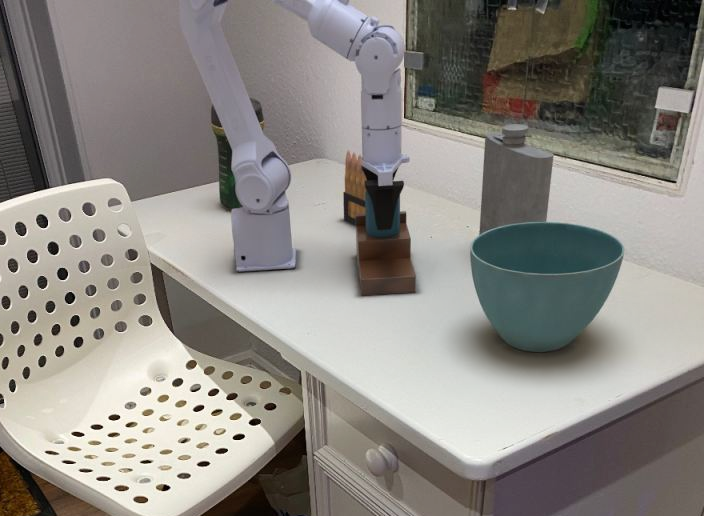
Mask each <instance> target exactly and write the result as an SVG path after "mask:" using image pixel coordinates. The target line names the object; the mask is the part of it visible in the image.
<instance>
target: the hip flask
mask: <svg viewBox="0 0 704 516" xmlns="http://www.w3.org/2000/svg"><path fill="white" fill-rule="evenodd" d="M528 133H529V126H528V125H526V124H522V123H521V124H520V123H511V124H506V125H503V126H502V127H501V131H492V132H488V133H486V134H484V151H483V152H484V153H483V165H482V166H483V168H482V184H481V200H480V201H481V202H480V217H479V218H480V219H479V235H480V234H482V233H484V232H486V231H488V230H491V229H494V228H497V227H501V226H505V225H511V224H518V223H527V222H547V220H548V219H547V218H548V210H549V200H550V194H551V193H550V191H551V182H552V174H553V173H552V172H553V165H554V155H555V154H554V153H553V152H550V151H547V150H543V149H540V148H537V147H534V146H531V145H529V144H527V143H526V141H527V140H526V138H527V134H528ZM479 235H478V236H479Z"/></svg>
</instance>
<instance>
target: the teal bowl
mask: <svg viewBox="0 0 704 516" xmlns="http://www.w3.org/2000/svg"><path fill="white" fill-rule="evenodd" d="M624 255H625V246H624V244H623V242H622V241H620V240H619V238H617V236H614V235H612V234H611V233H609V232H606V231H604V230H601V229H597V228H595V227H590V226H586V225H582V224H575V223H570V222H560V221H558V222H557V221H546V222H527V223H518V224H511V225H505V226H501V227H497V228H494V229H491V230H488V231H486V232H484V233H482V234H480V235H477V236H475V238H474V239H473V240H472V241H471V243H470V249H469V257H470V259H469V260H470V268H471V269H470V270H471V275H472V280H473V286H474V290H475V293H476V295H477V296H476V297H477V299H478V301H479V304H480V306H481V309H482V310H483V313H484V315H485V316H486V318H487V320H488V321H489V323H490V325H491V326H492V328H493V329H494V330H495V331H496V333H497V334H498V335H499V336H500V338H501V339H503V341H504V342H505V343H507V344H508V345H509V346H510V347H512V348H514V349H517V350H520V351H525V352H531V353H533V352H535V353H545V352H546V353H547V352H552V351H556V350H559V349H562V348H563V347H566V345H567V346H568V344H570V343H571V342H572V341H573V340H574V339H575V338H577V337H578V336H579V335H580V334H581V333H582V332H583V331H584V330H585V329H586V328H588V326H589V325H590V324H591V323H592V322H593V320H594V319H595V318H596V317H597V315H598V314H599V312H600V311H601V310H602V308H603V306H604V305H605V303H606V301H607V300H608V298H609V296H610V294H611V292H612V290H613V288H614V285H615V283H616V281H617V278H618V277H619V274H620V273H619V272H620V270H621V267H622V263H623V260H624V259H623V258H624Z"/></svg>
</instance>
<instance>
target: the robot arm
mask: <svg viewBox="0 0 704 516" xmlns="http://www.w3.org/2000/svg"><path fill="white" fill-rule="evenodd" d="M271 1H272V2H273V3H275V4H276V5H278V6H280V7H281V8H283V9H285V10H286V11H289V12H290V13H292V14H294V15H296V16H298V17H299V18H300V19H302V20H304V21H306V23H307V25H308V29H309V32H310V35H311V37H312V38H314V39H315V40H317V41H318V42H320V43H321V44H323V45H325V46H326V47H327V48H329V49H330V50H332V51H333V52H335V53H337V54H338V55H340V56H341V57H343V58H345V59H346V60H348V61H349V62H354V64H355V67H356V70H357V71H358V73H359V74H360V78H361V79H360V80H361V82H360V83H361V84H360V85H361V90H360V111H361V112H360V113H361V114H360V117H361V153H362V154H361V157H362V158H361V165H362V166H361V167H362V171H363V172H364V174H365V177H366V179H367V181H364V182H365V188H366V190H367V192H368V194H369V196H370V198H371V201H372V205H373V210H374V216H375V221H376V226H377V229H378V230H390V229H391V228H392V225H393V220H394V214H395V209H396V204H397V201H398V198H399V195H400V196H401V193H402V191H403V190H404V187H405V181H404V180H394V179H395V178H396V177H395V176H396V175H397V172H398V170H399V168H400V167H401V166H402V164H405V163H406V164H408V163H409V162H410V161H411V160H410V155H409V154H408V153H405V154H403V153H402V122H403V121H402V119H403V118H402V117H403V115H402V113H403V112H402V111H403V110H402V109H403V108H402V98H403V96H402V95H403V92H402V91H403V90H402V87H401V86H402V84H401V83H402V76H401V68H400V67H399V66H400V65H401V64H402V62H403V60H404V57H405V51H406V47H405V41H404V38H403V37H402V35H401V34H400V32H399V31H398V30H396V29H395V27H394V26H393V25H392V24H387V23H386V24H379V23H380V19H379V18H378V17H376V16H375V15H373V16H371V17H369V16H368V15H366V14H365V13H363V12H362V11H360V10H358V9H357V8H356V7H354V6H353V5H351V4H349V2H350V0H271ZM228 3H229V0H178V21H179V26H180V29H181V32H182V34H183V36H184V39H185V41H186V44H187V46H188V49H189V50H190V54H191V55H192V58H193V60H194V63H195V65H196V67H197V70H198V72H199V75H200V77H201V79H202V82H203V84H204V86H205V89H206V91H207V93H208V96H209V98H210V100H211V103H212V104H213V106H214V108H215V110H216V113H217V115H218V117H219V120H220V122H221V125H222V127H223V129H224V132H225V134H226V137H227V139H228V141H229V144H230V146H231V148H232V165H231V169H232V172H233V174H234V177H235V182H236V188H235V190H236V195H237V198H238V200H239V202H240V203H241V204H242V206H243V207H241V208H234V209H231V212H230V220H231V235H232V242H233V255H234V257H235V265H236V272H255V271H269V270H285V269H294V268H295V269H296V261H297V258H296V257H297V249H296V247H293V239H292V227H291V215H290V214H291V213H290V202H289V199H288V197H287V195H286V193H287V192H286V191H287V190H288V189H289V187H290V185H291V181H292V172H291V169H290V166H289V164H288V162H287V161H286V160H285V159H284V158H283V157H282V156H281V155H280V154H279V153H278V151H277V149H276V146H275V143H273V141H271V140H270V139H269V138H268V137H267V136H266V135H265V134H264V132H263V131H264V130H263V131H262V129H261V126H260V124H259V121H258V119H257V116H256V114H255V111H254V109H253V106H252V104H251V101H250V99H249V98H250V96H249V94H248V91H247V89H246V85H245V84H244V81H243V79H242V76H241V74H240V71H239V68H238V66H237V63H236V61H235V58H234V56H233V53H232V50H231V48H230V46H229V43H228V40H227V38H226V36H225V33H224V31H223V28H222V26H221V21H222V19H223V16H224V13H225V10H226V7H227V5H228Z"/></svg>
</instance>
